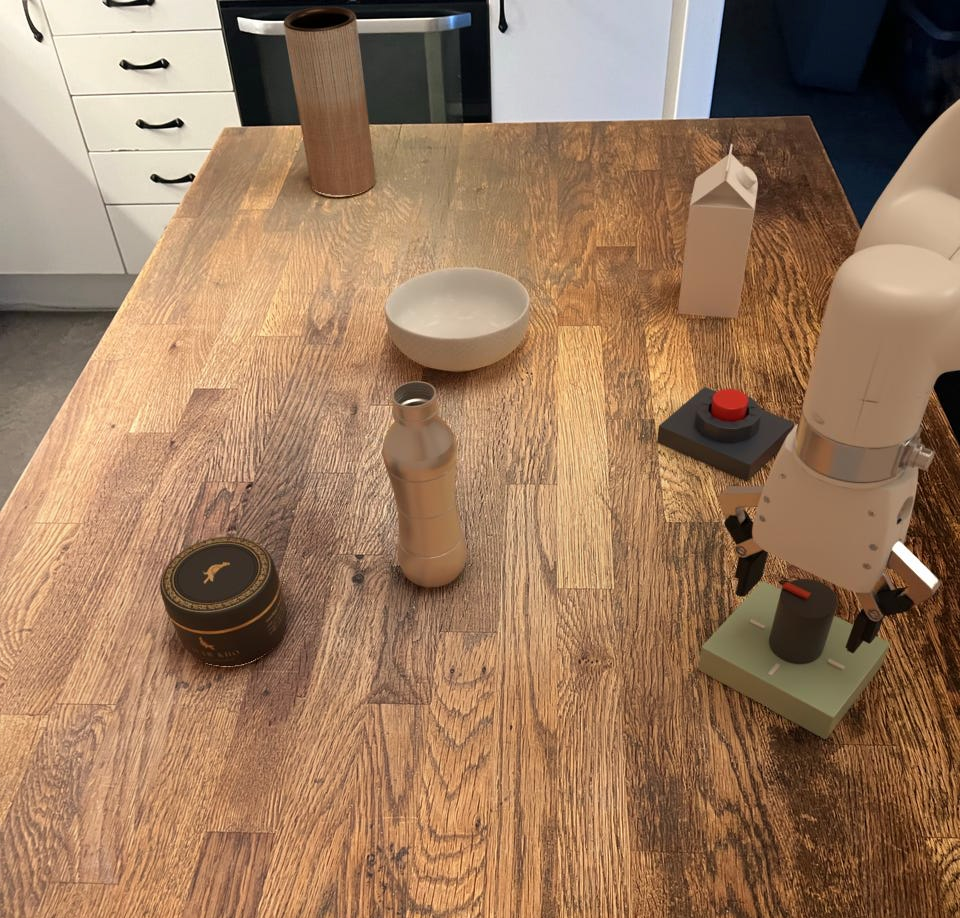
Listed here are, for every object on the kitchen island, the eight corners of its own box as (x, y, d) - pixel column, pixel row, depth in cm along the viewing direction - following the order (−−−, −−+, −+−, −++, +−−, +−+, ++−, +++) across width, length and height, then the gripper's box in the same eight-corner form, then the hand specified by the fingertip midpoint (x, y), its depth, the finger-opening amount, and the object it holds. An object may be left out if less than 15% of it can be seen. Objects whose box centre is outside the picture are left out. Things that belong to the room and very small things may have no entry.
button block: (790, 439, 106) (798, 407, 103) (747, 482, 102) (753, 450, 99) (702, 403, 111) (706, 372, 108) (656, 442, 107) (660, 411, 104)
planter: (309, 175, 156) (281, 10, 139) (372, 167, 157) (352, 2, 140) (313, 202, 150) (284, 33, 133) (379, 194, 150) (359, 24, 134)
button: (752, 410, 104) (755, 396, 102) (734, 427, 102) (736, 413, 101) (722, 398, 105) (724, 384, 104) (704, 415, 104) (706, 400, 102)
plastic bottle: (481, 561, 96) (470, 382, 81) (444, 606, 92) (425, 427, 77) (425, 540, 98) (404, 362, 83) (386, 583, 94) (357, 405, 79)
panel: (881, 666, 85) (891, 641, 82) (825, 740, 80) (834, 716, 77) (756, 603, 90) (762, 578, 88) (696, 669, 85) (701, 645, 83)
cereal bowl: (551, 332, 122) (552, 278, 117) (496, 406, 112) (494, 350, 107) (429, 307, 128) (424, 255, 122) (365, 376, 118) (357, 322, 112)
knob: (832, 640, 83) (848, 591, 78) (806, 672, 81) (821, 623, 76) (785, 617, 85) (798, 568, 80) (758, 647, 83) (770, 598, 78)
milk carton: (675, 326, 122) (693, 168, 108) (682, 297, 126) (699, 142, 112) (735, 331, 120) (760, 172, 106) (739, 302, 125) (764, 145, 111)
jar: (165, 670, 88) (139, 610, 82) (201, 590, 95) (180, 530, 89) (274, 678, 87) (255, 618, 81) (303, 597, 93) (287, 536, 88)
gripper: (1003, 459, 65) (925, 636, 78) (767, 369, 73) (731, 543, 85) (956, 518, 61) (882, 694, 74) (712, 417, 69) (683, 592, 82)
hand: (801, 613), depth 80 cm, fingers open, 9 cm apart
